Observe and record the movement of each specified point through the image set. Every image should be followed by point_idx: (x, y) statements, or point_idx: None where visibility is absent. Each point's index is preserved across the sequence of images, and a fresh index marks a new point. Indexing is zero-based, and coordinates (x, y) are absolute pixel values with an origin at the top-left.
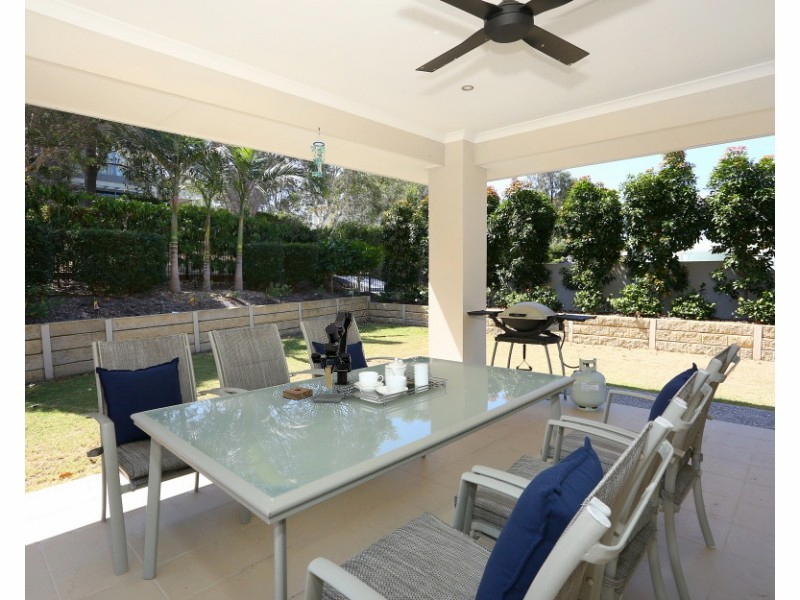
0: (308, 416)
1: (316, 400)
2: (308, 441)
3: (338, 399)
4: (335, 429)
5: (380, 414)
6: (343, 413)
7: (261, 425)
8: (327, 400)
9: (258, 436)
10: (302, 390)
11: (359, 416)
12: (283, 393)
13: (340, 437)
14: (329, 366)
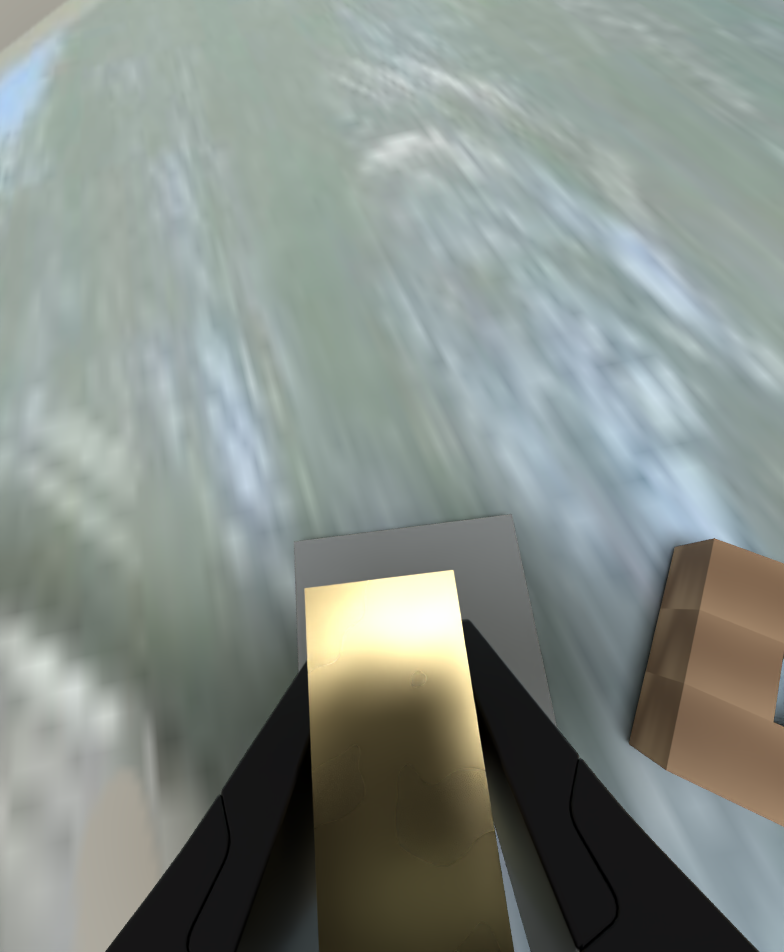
0: (412, 264)
1: (486, 517)
2: (296, 55)
3: (310, 581)
4: (221, 160)
5: (9, 383)
6: (225, 351)
7: (581, 117)
8: (393, 532)
9: (510, 39)
10: (757, 691)
11: (128, 327)
12: None
13: (185, 106)
14: (395, 795)
